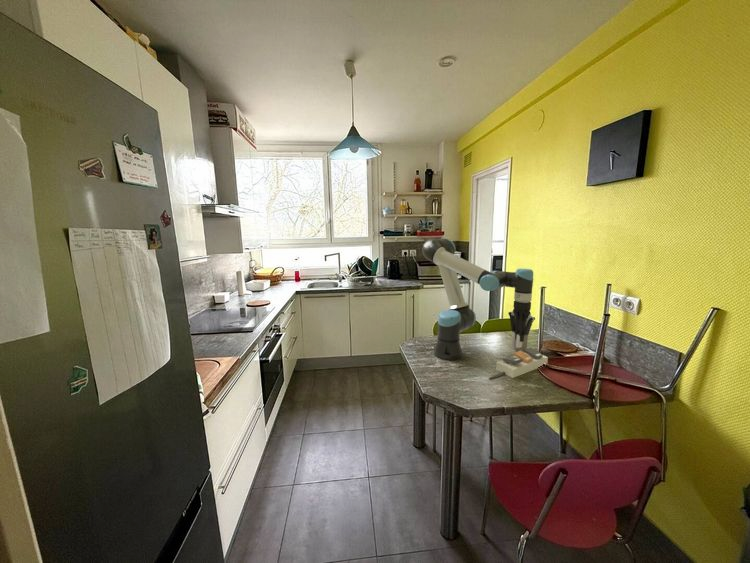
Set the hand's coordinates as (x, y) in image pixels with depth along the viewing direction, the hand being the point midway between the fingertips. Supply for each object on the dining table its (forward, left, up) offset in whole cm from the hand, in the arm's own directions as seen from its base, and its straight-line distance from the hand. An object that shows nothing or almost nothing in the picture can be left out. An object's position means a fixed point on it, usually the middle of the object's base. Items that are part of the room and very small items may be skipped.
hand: (518, 346), depth 146 cm
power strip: (+3, -5, -10) cm, 11 cm away
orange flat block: (+3, 0, -4) cm, 5 cm away
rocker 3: (+3, +8, -4) cm, 9 cm away
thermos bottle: (-12, +19, -10) cm, 25 cm away
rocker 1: (+3, -8, -4) cm, 10 cm away
